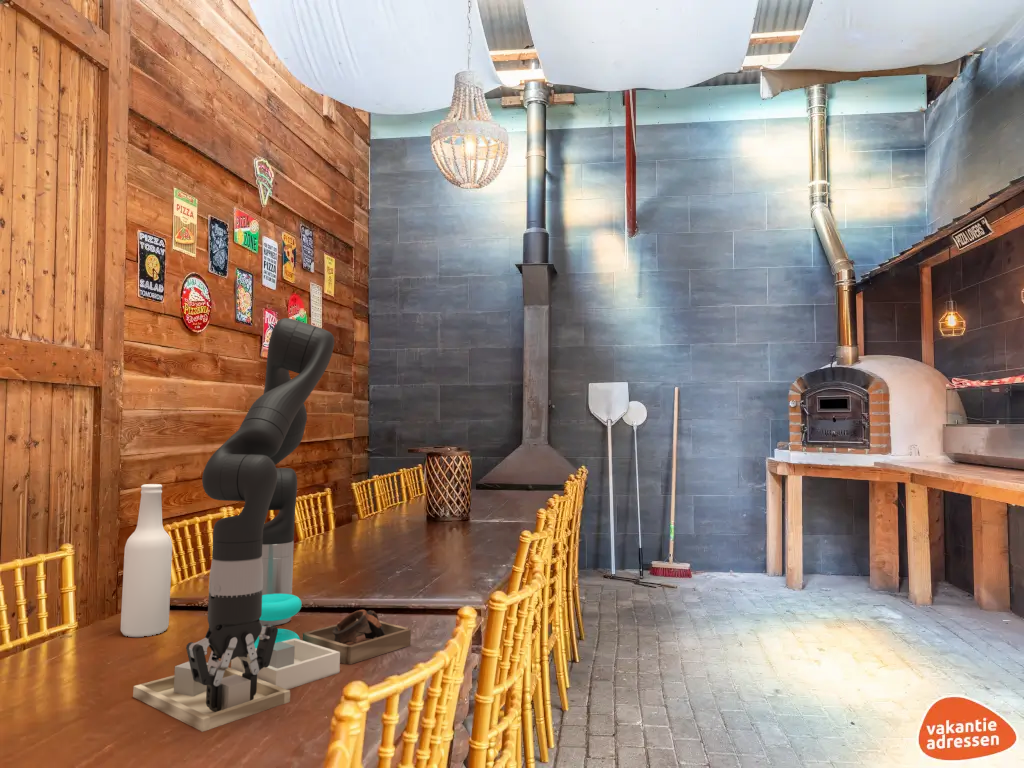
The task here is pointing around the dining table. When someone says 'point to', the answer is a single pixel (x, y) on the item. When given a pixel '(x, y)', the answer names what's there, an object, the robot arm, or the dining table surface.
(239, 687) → the grey cube near
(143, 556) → the alcohol
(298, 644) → the dish
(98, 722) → the dining table surface
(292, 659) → the grey cube
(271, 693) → the tray
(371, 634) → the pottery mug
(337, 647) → the frame
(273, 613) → the donuts
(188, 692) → the grey stone cube
